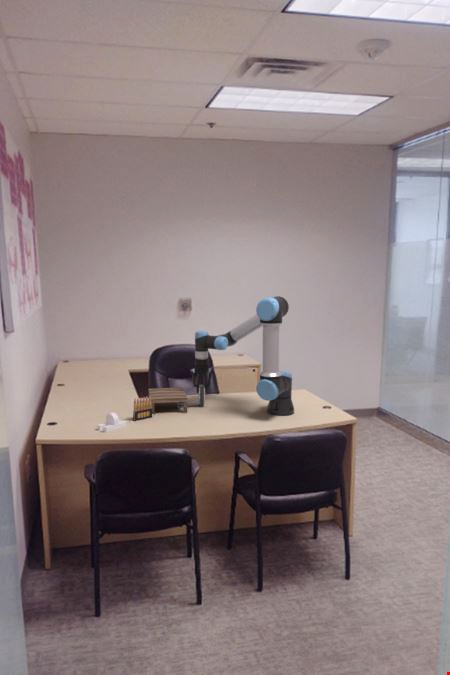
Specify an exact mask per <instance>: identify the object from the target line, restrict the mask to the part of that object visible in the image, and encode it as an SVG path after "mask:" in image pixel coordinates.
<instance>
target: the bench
mask: <svg viewBox="0 0 450 675" xmlns="http://www.w3.org/2000/svg"><path fill="white" fill-rule="evenodd" d="M149 396H150V397H151V408H152V414H153V415H155V404H157V403H161V404H162V403H163V404H164V403H177V402H183V408H182V412H183V414H187V413H188V408H187V402H188V397H187V395H186V392H185V390H184V388H183V387H161V388H158V387H157V388H148V397H149Z"/></svg>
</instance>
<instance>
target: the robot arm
mask: <svg viewBox="0 0 450 675" xmlns="http://www.w3.org/2000/svg"><path fill="white" fill-rule="evenodd" d="M286 299H287V298H285V297H282V296H278V295H277V296H276V295H275V296H269V297H268V296H267V297H265V298H262V299H261V300H260V301H259V302H258V303H257V305H256V308H255V310H256V312H255V313H256V314H254V315H253V316H252V317H250V318H248V319H247V320H245V321H243V322H242V323H240V324H239V325H236V327H234V328H232V329H231V330H229V331H228V332H226V333H223V334H219V335H209V332H208V331H207V330H198V331H195V334H194V347H195V349H194V358H195V359H194V367H193V368H192V369H190V374H191V376H192V377H191V378H192V385H193V387H195V388H196V393H197V396H198V400H199V399H200V387H199V385H200V382H201V375H202V376H203V386H204V400H205V399H206V393H208V387H210V386H211V380H212V374H213V372H214V369H213V368H210V367H209V349H210V350H218V351H225V350H227V348H229V347H233V346H234V345H236V344H237V343H238V342H239V341H241V340H242V339H244V338H246V337H247V336H249V335H250V334H252V333H254V332H255V331H257V330H260V328H262V371H261V372H260V373H259V381H258V382H257V384H256V386H255V388H256V393H257V396H259V397H260V399H261V400H264V401H268V404H267V406H266V412H267V413H268V414H270V415H273V416H291V415H293V414H295V406H294V403H293V400H292V392H293V388H292V387H293V374H292V372H289V371H285V370H284V371H283V370H280V360H279V359H280V326H281V325H283V324H282V323H283V317H285V316H286V315H287V314H288V312H289V309H290V306H289V302H288V301H287V300H286ZM207 372H208V376H207ZM195 373H197V375H195ZM196 376H197V377H196ZM195 377H196V378H195Z"/></svg>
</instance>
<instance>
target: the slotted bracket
mask: <svg viewBox="0 0 450 675" xmlns="http://www.w3.org/2000/svg"><path fill="white" fill-rule="evenodd" d="M125 426H126V427H127V421H126V420H121V419H119V416H118V414H117V413H116V412H110V413H107V414H106V415H105V422H103V423H99V424H98V425H97V430H98V431H103V433H109V431H110V432H112V430H113V431H116V430H115V429H117V430H119V428H120V429H123V428H125ZM122 427H123V428H122Z"/></svg>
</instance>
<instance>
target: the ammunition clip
mask: <svg viewBox="0 0 450 675" xmlns="http://www.w3.org/2000/svg"><path fill="white" fill-rule="evenodd" d="M132 412H133V413H132V419H133V421H134V422H138V421H143V420H148V419H151V418H153V415H152V408H151V397H150V396H149V395H148V396H146V397H145V396H143V398H142V397H140V398H139V397H138V398H137V399H136V398H134V400H133V411H132ZM147 418H148V419H147Z"/></svg>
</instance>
